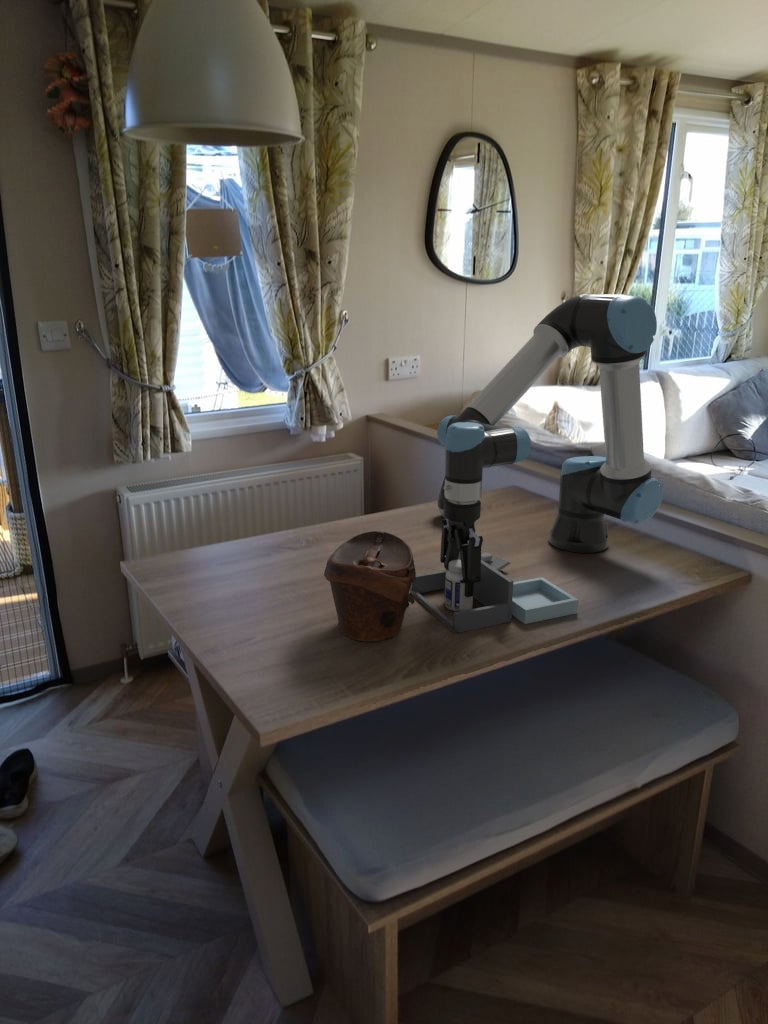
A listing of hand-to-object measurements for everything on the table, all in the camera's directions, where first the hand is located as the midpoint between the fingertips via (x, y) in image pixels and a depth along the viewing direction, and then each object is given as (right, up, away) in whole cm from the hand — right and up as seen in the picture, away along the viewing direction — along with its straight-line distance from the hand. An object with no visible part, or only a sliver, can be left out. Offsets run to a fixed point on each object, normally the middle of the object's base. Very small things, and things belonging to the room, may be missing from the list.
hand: (458, 602), depth 160 cm
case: (-18, -4, -9) cm, 21 cm away
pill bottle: (0, -1, 0) cm, 1 cm away
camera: (+6, +5, +18) cm, 20 cm away
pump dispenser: (+5, +17, +57) cm, 60 cm away
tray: (+16, -1, +1) cm, 16 cm away
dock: (0, -1, 0) cm, 1 cm away
